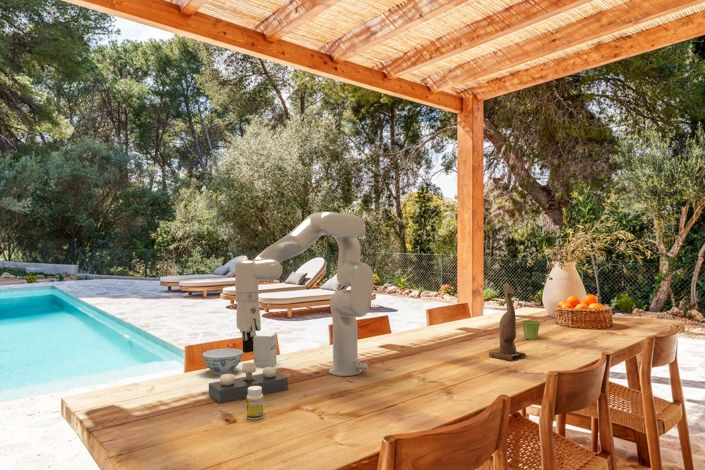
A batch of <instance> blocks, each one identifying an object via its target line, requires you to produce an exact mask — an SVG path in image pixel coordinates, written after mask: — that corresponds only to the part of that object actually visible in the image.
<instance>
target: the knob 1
mask: <svg viewBox="0 0 705 470" xmlns="http://www.w3.org/2000/svg"><path fill="white" fill-rule="evenodd" d="M219 376H220V380H219V381H220V384H221V385H224V387H225V386H230V385H231V384H233V383H234V379H235V374H233V373H230V374H223V375H219Z"/></svg>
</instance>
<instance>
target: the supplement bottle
mask: <svg viewBox="0 0 705 470" xmlns="http://www.w3.org/2000/svg"><path fill="white" fill-rule="evenodd" d="M246 418H247V419H248V420H250V421H251V420H252V421H253V420H254V421H255V420H261V419H262V418H264V394H262V387H260V386H251V387H249V388H248V395H247V398H246Z"/></svg>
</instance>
